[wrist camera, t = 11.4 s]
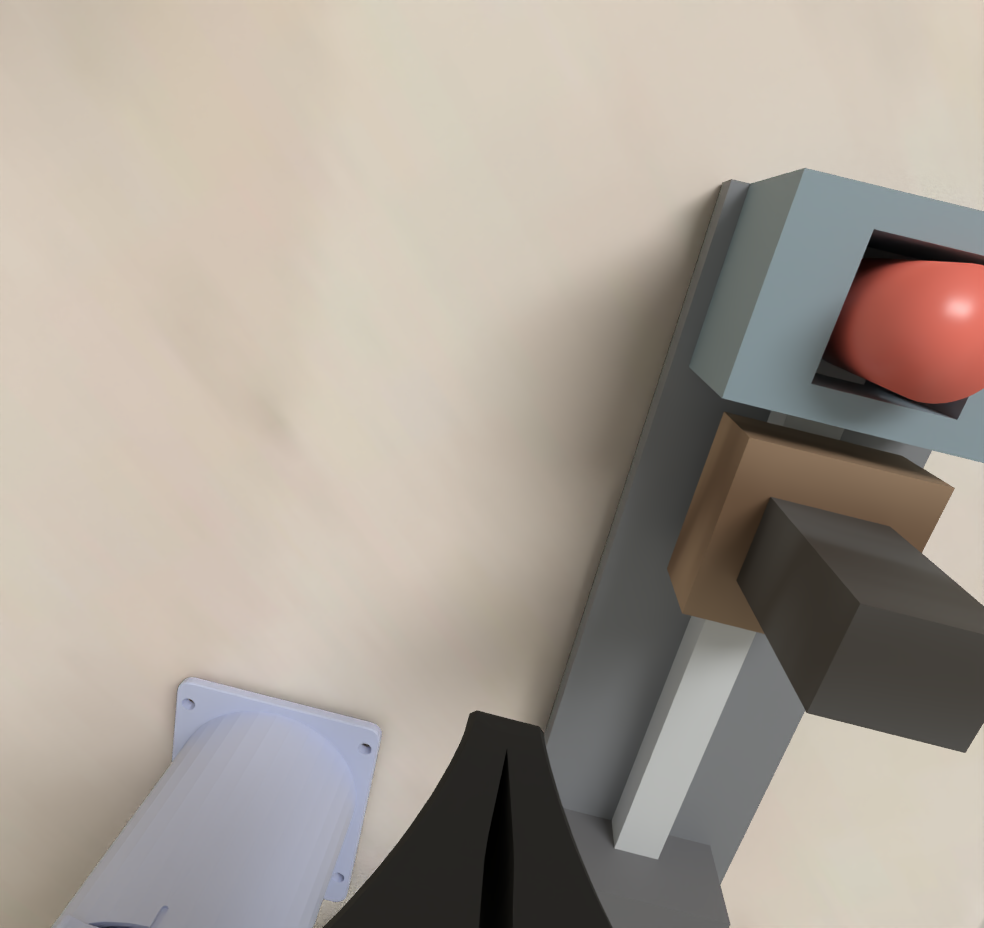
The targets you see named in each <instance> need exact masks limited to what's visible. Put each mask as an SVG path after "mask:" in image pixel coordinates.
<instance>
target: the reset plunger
mask: <svg viewBox="0 0 984 928" xmlns="http://www.w3.org/2000/svg"><path fill="white" fill-rule="evenodd" d="M822 359H823V360H825V361H826V362H828V363H830V364H832V365H834V366H837V367H839V368H841V369H843V370H846V371H848V372H850V373H852V374H855V375H857V376H859V377H861V378H864V379H866V380H868V381H870V382H872V383H875V384H877V385H879V386H881V387H884V388H886V389H888V390H890V391H893V392H895V393H897V394H899V395H901V396H904V397H906V398H908V399H911V400H914V401H917V402H922V403H932V404H938V403H948V402H953V401H957V400H960V399H964V398H966V397H968V396H971V395H973V394H975V393H977V392H979V391H980V390H982V389H984V266H983V265H979V264H973V263H958V262H940V261H922V260H903V259H885V258H862V260H861V262H860V265H859V267H858V270H857V272H856V274H855V277H854V279H853V282H852V284H851V287H850V289H849V292H848V294H847V297H846V299H845V302H844V304H843V307H842V309H841V311H840V314H839V316H838V319H837V321H836V324H835V326H834V329H833V331H832V334H831V336H830V339H829V341H828V344H827V346H826V348H825V351H824V353H823V356H822Z"/></svg>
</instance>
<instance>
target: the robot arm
mask: <svg viewBox="0 0 984 928" xmlns="http://www.w3.org/2000/svg"><path fill="white" fill-rule="evenodd" d="M189 699H191V700H193V702H194V703H193V702H191V701H189ZM381 737H382V731H381V729H380V727H379V726H377V725H376V724H374V723H372V722H368V721H364V720H360V719H357V718H353V717H349V716H345V715H341V714H337V713H333V712H329V711H325V710H321V709H317V708H313V707H309V706H305V705H301V704H298V703H294V702H290V701H286V700H282V699H278V698H274V697H270V696H266V695H262V694H258V693H254V692H250V691H246V690H242V689H238V688H235V687H231V686H227V685H223V684H219V683H215V682H211V681H207V680H203V679H199V678H195V677H189V678H186V679H185V680H183V681H182V683H181V684H180V685H179V687H178V690H177V702H176V714H175V727H174V740H173V752H172V763H171V764H170V766H169V767H168V768H167V770H166V771H165V773H164V774H163V775H162V777H161V778H160V779H159V781H158V782H157V783H156V785H155V786H154V788H153V789H152V790H151V792H150V793H149V794H148V796H147V797H146V798H145V800H144V801H143V803H142V804H141V805H140V807H139V808H138V809H137V811H136V812H135V813H134V815H133V816H132V818H131V819H130V820H129V822H128V823H127V824H126V826H125V827H124V828H123V830H122V831H121V833H120V834H119V835H118V837H117V838H116V839H115V841H114V842H113V843H112V845H111V846H110V848H109V849H108V850H107V852H106V853H105V854H104V856H103V857H102V858H101V860H100V861H99V863H98V864H97V865H96V867H95V868H94V869H93V871H92V872H91V873H90V875H89V876H88V877H87V879H86V880H85V882H84V883H83V884H82V886H81V887H80V888H79V890H78V891H77V892H76V894H75V895H74V897H73V898H72V899H71V901H70V902H69V903H68V905H67V906H66V907H65V909H64V910H63V912H62V913H61V914H60V916H59V917H58V918H57V920H56V921H55V922H54V924H53V925H52V927H51V928H313V927H314V924H315V921H316V918H317V915H318V913H319V910H320V907H321V904H322V901H323V899H326V900H329V901H333V902H339V901H342V900H344V899H345V898H346V896H347V893H348V890H349V885H350V881H351V876H352V871H353V867H354V862H355V857H356V853H357V848H358V844H359V839H360V834H361V830H362V825H363V820H364V816H365V811H366V807H367V802H368V797H369V793H370V788H371V783H372V779H373V774H374V770H375V765H376V760H377V756H378V751H379V746H380V742H381ZM362 743H363V744H368V745H369V746H370V747H366V746H364V745H363V744H362ZM323 928H613V927H612V925H611V923H610V921H609V919H608V917H607V915H606V913H605V911H604V909H603V906H602V904H601V902H600V900H599V898H598V896H597V893H596V891H595V889H594V887H593V884H592V882H591V880H590V877H589V875H588V872H587V870H586V868H585V865H584V863H583V860H582V858H581V855H580V853H579V850H578V848H577V845H576V842H575V840H574V837H573V834H572V832H571V829H570V826H569V823H568V820H567V817H566V814H565V811H564V808H563V806H562V803H561V799H560V796H559V793H558V790H557V787H556V783H555V780H554V776H553V773H552V769H551V765H550V761H549V757H548V753H547V749H546V744H545V740H544V734H543V732H542V730H541V729H540V727H539V726H535V725H531V724H527V723H523V722H519V721H515V720H511V719H508V718H504V717H500V716H496V715H492V714H488V713H484V712H480V711H475V712H472V713H470V714H469V718H468V721H467V725H466V729H465V732H464V735H463V737H462V740H461V742H460V744H459V746H458V748H457V750H456V752H455V754H454V756H453V758H452V760H451V762H450V764H449V766H448V768H447V769H446V771H445V773H444V775H443V776H442V778H441V780H440V781H439V783H438V785H437V787H436V788H435V790H434V792H433V793H432V795H431V796H430V798H429V799H428V801H427V802H426V804H425V805H424V807H423V808H422V810H421V811H420V813H419V814H418V815H417V817H416V818H415V820H414V821H413V823H412V824H411V826H410V827H409V828H408V830H407V831H406V833H405V834H404V835H403V837H402V838H401V839H400V841H399V842H398V843H397V845H396V846H395V847H394V848H393V850H392V851H391V852H390V853H389V855H388V856H387V857H386V858H385V860H384V861H383V862H382V863H381V865H380V866H379V867H378V868H377V869H376V871H375V872H374V873H373V874H372V875H371V876H370V878H369V879H368V880H367V881H366V882H365V883H364V884H363V885H362V887H361V888H360V889H359V890H358V891H357V892H356V893H355V895H354V896H353V897H352V898H351V899H350V900H349V901H348V902H347V903H346V904H345V906H344V907H343V908H342V909H341V910H340V911H339V912H338V913H337V914H336V915H335V916H334V917H333V918H332V919H331V920H330V921H329V922H328V923H327V924H326V925H325V926H324V927H323Z"/></svg>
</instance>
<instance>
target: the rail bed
mask: <svg viewBox="0 0 984 928" xmlns="http://www.w3.org/2000/svg"><path fill="white" fill-rule="evenodd" d="M862 258H885V259H903V260H922V261H940V262H958V263H973V264H979V265H983V266H984V211H980V210H976V209H972V208H967V207H963V206H959V205H955V204H951V203H947V202H943V201H939V200H934V199H930V198H926V197H922V196H918V195H914V194H910V193H906V192H902V191H897V190H893V189H889V188H885V187H881V186H877V185H873V184H869V183H864V182H860V181H856V180H852V179H848V178H844V177H840V176H836V175H832V174H827V173H823V172H819V171H815V170H811V169H807V168H803V169H800V170H796V171H793V172H790V173H786V174H783V175H779V176H776V177H772V178H769V179H765V180H762V181H758V182H755V183H752V184H749V183H745V182H741V181H737V180H732V179H731V180H729V181H726V182H723V183H722V186H721V189H720V192H719V195H718V199H717V202H716V205H715V208H714V211H713V214H712V217H711V220H710V223H709V226H708V230H707V233H706V236H705V239H704V242H703V245H702V248H701V251H700V254H699V257H698V260H697V264H696V267H695V270H694V273H693V276H692V279H691V282H690V285H689V288H688V291H687V294H686V298H685V301H684V304H683V307H682V310H681V313H680V316H679V319H678V322H677V325H676V329H675V332H674V335H673V338H672V341H671V344H670V347H669V350H668V353H667V356H666V359H665V363H664V366H663V369H662V372H661V375H660V378H659V381H658V384H657V387H656V390H655V393H654V397H653V400H652V403H651V406H650V409H649V412H648V415H647V418H646V421H645V424H644V428H643V431H642V434H641V437H640V440H639V443H638V446H637V449H636V452H635V455H634V458H633V462H632V465H631V468H630V471H629V474H628V477H627V480H626V483H625V486H624V489H623V492H622V496H621V499H620V502H619V505H618V508H617V511H616V514H615V517H614V520H613V523H612V527H611V530H610V533H609V536H608V539H607V542H606V545H605V548H604V551H603V554H602V557H601V561H600V564H599V567H598V570H597V573H596V576H595V579H594V582H593V585H592V588H591V592H590V595H589V598H588V601H587V604H586V607H585V610H584V613H583V616H582V619H581V622H580V626H579V629H578V632H577V635H576V638H575V641H574V644H573V647H572V650H571V653H570V656H569V660H568V663H567V666H566V669H565V672H564V675H563V678H562V681H561V684H560V687H559V691H558V694H557V697H556V700H555V703H554V706H553V709H552V712H551V715H550V718H549V721H548V725H547V728H546V731H545V734H544V740H545V744H546V749H547V753H548V757H549V761H550V765H551V769H552V773H553V776H554V780H555V783H556V787H557V790H558V793H559V796H560V799H561V803H562V806H563V808H564V811H565V814H566V817H567V820H568V823H569V826H570V829H571V832H572V834H573V837H574V840H575V842H576V845H577V848H578V850H579V853H580V855H581V858H582V860H583V863H584V865H585V868H586V870H587V872H588V875H589V877H590V880H591V882H592V884H593V887H594V889H595V891H596V893H597V896H598V898H599V900H600V902H601V904H602V906H603V909H604V911H605V913H606V915H607V917H608V919H609V921H610V923H611V925H612V927H613V928H729V926H730V921H729V917H728V913H727V909H726V906H725V902H724V898H723V894H722V890H721V886H720V884H721V882H722V880H723V878H724V876H725V874H726V872H727V870H728V868H729V866H730V864H731V862H732V859H733V857H734V855H735V853H736V851H737V849H738V847H739V845H740V843H741V841H742V839H743V837H744V835H745V833H746V831H747V829H748V827H749V825H750V823H751V820H752V818H753V816H754V814H755V812H756V810H757V808H758V806H759V804H760V802H761V800H762V798H763V796H764V794H765V792H766V790H767V788H768V786H769V784H770V782H771V779H772V777H773V775H774V773H775V771H776V769H777V767H778V765H779V763H780V761H781V759H782V757H783V755H784V753H785V751H786V749H787V747H788V745H789V743H790V740H791V738H792V736H793V734H794V732H795V730H796V728H797V726H798V724H799V722H800V720H801V718H802V716H803V714H804V712H805V709H804V707H803V705H802V703H801V701H800V699H799V697H798V695H797V694H796V692H795V690H794V688H793V686H792V684H791V682H790V680H789V679H788V677H787V675H786V673H785V671H784V669H783V667H782V665H781V664H780V662H779V660H778V658H777V656H776V654H775V652H774V650H773V649H772V647H771V645H770V643H769V641H768V639H767V637H766V635H765V634H762V633H758V632H754V631H750V630H746V629H742V628H738V627H734V626H730V625H726V624H722V623H718V622H714V621H710V620H706V619H702V618H698V617H694V616H690V615H686V614H682V612H681V609H680V606H679V603H678V600H677V597H676V594H675V591H674V588H673V585H672V582H671V579H670V576H669V573H668V570H667V567H668V564H669V561H670V559H671V556H672V553H673V550H674V548H675V545H676V542H677V539H678V537H679V534H680V531H681V528H682V526H683V523H684V520H685V518H686V515H687V512H688V509H689V507H690V504H691V501H692V498H693V496H694V493H695V490H696V487H697V485H698V482H699V479H700V476H701V474H702V471H703V468H704V465H705V463H706V460H707V457H708V454H709V452H710V449H711V446H712V443H713V441H714V438H715V435H716V432H717V430H718V427H719V424H720V421H721V419H722V416H723V413H724V412H728V413H732V414H736V415H740V416H744V417H748V418H752V419H756V420H760V421H764V422H768V423H772V424H776V425H780V426H784V427H788V428H792V429H796V430H800V431H804V432H808V433H812V434H817V435H821V436H825V437H829V438H833V439H837V440H841V441H845V442H849V443H853V444H857V445H861V446H865V447H869V448H873V449H877V450H881V451H885V452H889V453H893V454H897V455H901V456H903V457H905V458H907V459H908V460H910V461H911V462H913V463H915V464H916V465H918V466H920V467H921V468H924V466H925V463H926V461H927V459H928V457H929V455H930V453H931V451H932V450H933V451H938V452H942V453H946V454H950V455H954V456H958V457H962V458H966V459H970V460H974V461H978V462H982V463H984V389H982V390H980V391H979V392H977V393H975V394H973V395H971V396H968V397H966V398H964V399H960V400H957V401H953V402H948V403H938V404H932V403H922V402H917V401H914V400H911V399H908V398H906V397H904V396H901V395H899V394H897V393H895V392H893V391H890V390H888V389H886V388H884V387H881V386H879V385H877V384H875V383H872V382H870V381H868V380H866V379H864V378H861V377H859V376H857V375H855V374H852V373H850V372H848V371H846V370H843V369H841V368H839V367H837V366H834V365H832V364H830V363H828V362H826V361H825V360H823V359H822V356H823V353H824V351H825V348H826V346H827V344H828V341H829V339H830V336H831V334H832V331H833V329H834V326H835V324H836V321H837V319H838V316H839V314H840V311H841V309H842V307H843V304H844V302H845V299H846V297H847V294H848V292H849V289H850V287H851V284H852V282H853V279H854V277H855V274H856V272H857V270H858V267H859V265H860V262H861V260H862Z"/></svg>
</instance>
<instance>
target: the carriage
mask: <svg viewBox="0 0 984 928" xmlns="http://www.w3.org/2000/svg"><path fill="white" fill-rule="evenodd" d="M954 489H955V488H953V487H952V486H950V485H949V484H947V483H945V482H944V481H942V480H941V479H939V478H937V477H936V476H934V475H932V474H931V473H929V472H928V471H926V470H924V469H923V468H921V467H920V466H918V465H916V464H915V463H913V462H911V461H910V460H908V459H907V458H905V457H903V456H901V455H897V454H893V453H889V452H885V451H881V450H877V449H873V448H869V447H865V446H861V445H857V444H853V443H849V442H845V441H841V440H837V439H833V438H829V437H825V436H821V435H817V434H812V433H808V432H804V431H800V430H796V429H792V428H788V427H784V426H780V425H776V424H772V423H768V422H764V421H760V420H756V419H752V418H748V417H744V416H740V415H736V414H732V413H728V412H724V413H723V416H722V419H721V421H720V424H719V427H718V430H717V432H716V435H715V438H714V441H713V443H712V446H711V449H710V452H709V454H708V457H707V460H706V463H705V465H704V468H703V471H702V474H701V476H700V479H699V482H698V485H697V487H696V490H695V493H694V496H693V498H692V501H691V504H690V507H689V509H688V512H687V515H686V518H685V520H684V523H683V526H682V528H681V531H680V534H679V537H678V539H677V542H676V545H675V548H674V550H673V553H672V556H671V559H670V561H669V564H668V567H667V570H668V573H669V576H670V579H671V582H672V585H673V588H674V591H675V594H676V597H677V600H678V603H679V606H680V609H681V612H682V614H686V615H690V616H694V617H698V618H702V619H706V620H710V621H714V622H718V623H722V624H726V625H730V626H734V627H738V628H742V629H746V630H750V631H754V632H758V633H762V634H765V635H766V637H767V639H768V641H769V643H770V645H771V647H772V649H773V650H774V652H775V654H776V656H777V658H778V660H779V662H780V664H781V665H782V667H783V669H784V671H785V673H786V675H787V677H788V679H789V680H790V682H791V684H792V686H793V688H794V690H795V692H796V694H797V695H798V697H799V699H800V701H801V703H802V705H803V707H804V709H805V710H806V712H807V713H809V714H813V715H817V716H821V717H825V718H829V719H833V720H837V721H841V722H845V723H849V724H853V725H857V726H861V727H865V728H869V729H873V730H877V731H881V732H884V733H888V734H892V735H896V736H900V737H904V738H908V739H912V740H916V741H920V742H924V743H928V744H932V745H936V746H940V747H944V748H948V749H952V750H956V751H960V752H964V753H966V751H967V749H968V748H969V746H970V744H971V743H972V741H973V739H974V738H975V736H976V734H977V733H978V731H979V729H980V728H981V726H982V725H983V723H984V606H983V605H982V604H980V603H979V602H978V601H977V600H976V599H975V598H973V597H972V596H971V595H970V594H969V593H968V592H966V591H965V590H964V589H963V588H962V587H961V586H959V585H958V584H957V583H956V582H955V581H954V580H952V579H951V578H950V577H949V576H948V575H946V574H945V573H944V572H943V571H942V570H941V569H939V568H938V567H937V566H936V565H935V564H934V563H932V562H931V561H930V560H929V559H928V558H927V557H925V556H924V555H923V554H922V551H923V549H924V547H925V545H926V543H927V542H928V540H929V538H930V536H931V534H932V532H933V530H934V528H935V526H936V524H937V522H938V520H939V518H940V516H941V514H942V512H943V510H944V508H945V506H946V504H947V502H948V500H949V498H950V497H951V495H952V493H953V491H954Z"/></svg>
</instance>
